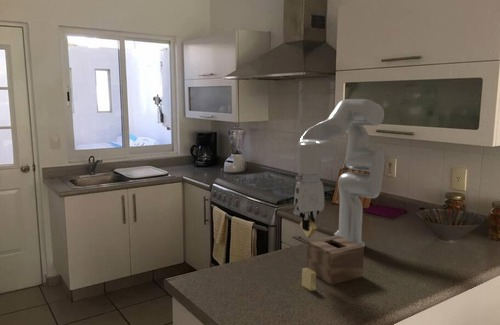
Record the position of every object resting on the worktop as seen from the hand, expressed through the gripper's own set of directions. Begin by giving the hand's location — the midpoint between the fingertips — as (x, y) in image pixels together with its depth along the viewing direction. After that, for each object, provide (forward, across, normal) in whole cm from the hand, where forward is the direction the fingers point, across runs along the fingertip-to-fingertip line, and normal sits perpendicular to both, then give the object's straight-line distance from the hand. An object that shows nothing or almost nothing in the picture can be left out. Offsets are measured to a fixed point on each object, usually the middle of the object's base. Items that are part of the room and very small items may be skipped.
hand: (308, 229), depth 147 cm
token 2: (+17, -6, -9) cm, 20 cm away
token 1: (+1, 0, -2) cm, 2 cm away
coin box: (+17, +9, -4) cm, 19 cm away
